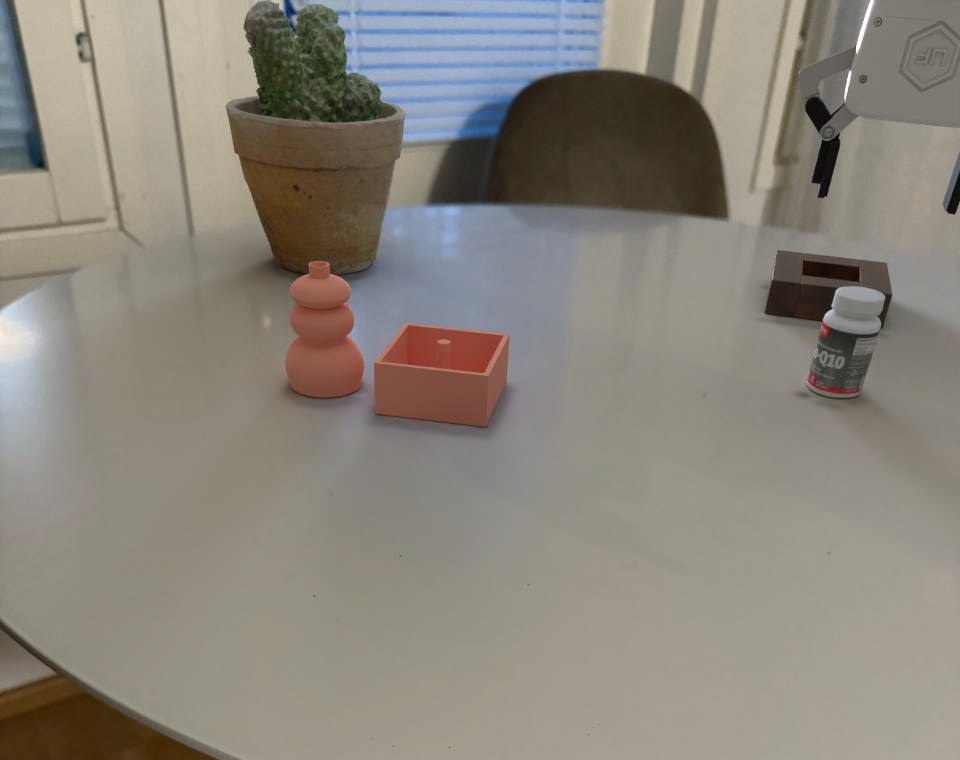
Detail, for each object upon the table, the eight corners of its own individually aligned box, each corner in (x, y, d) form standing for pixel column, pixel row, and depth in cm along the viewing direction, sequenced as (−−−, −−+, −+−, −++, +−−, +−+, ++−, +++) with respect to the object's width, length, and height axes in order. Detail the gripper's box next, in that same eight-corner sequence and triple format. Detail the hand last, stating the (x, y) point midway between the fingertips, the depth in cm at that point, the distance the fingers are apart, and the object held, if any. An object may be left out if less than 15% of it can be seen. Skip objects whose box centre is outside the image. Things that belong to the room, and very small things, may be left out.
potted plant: (262, 234, 116) (239, -13, 101) (414, 242, 116) (414, -5, 101) (224, 280, 102) (190, -1, 87) (398, 289, 102) (395, 9, 86)
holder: (877, 294, 107) (887, 262, 105) (882, 329, 98) (892, 294, 96) (769, 281, 109) (776, 249, 107) (764, 313, 100) (771, 279, 98)
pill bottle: (794, 382, 85) (818, 287, 80) (833, 375, 87) (859, 281, 82) (832, 403, 82) (860, 305, 77) (872, 394, 84) (901, 298, 79)
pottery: (506, 382, 83) (513, 265, 77) (486, 427, 75) (492, 301, 69) (308, 359, 85) (300, 244, 79) (269, 400, 78) (257, 277, 72)
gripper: (832, -77, 64) (770, 198, 74) (1114, -58, 60) (1007, 228, 71) (832, -76, 69) (774, 179, 80) (1089, -59, 66) (994, 206, 76)
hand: (884, 202), depth 75 cm, fingers open, 9 cm apart
